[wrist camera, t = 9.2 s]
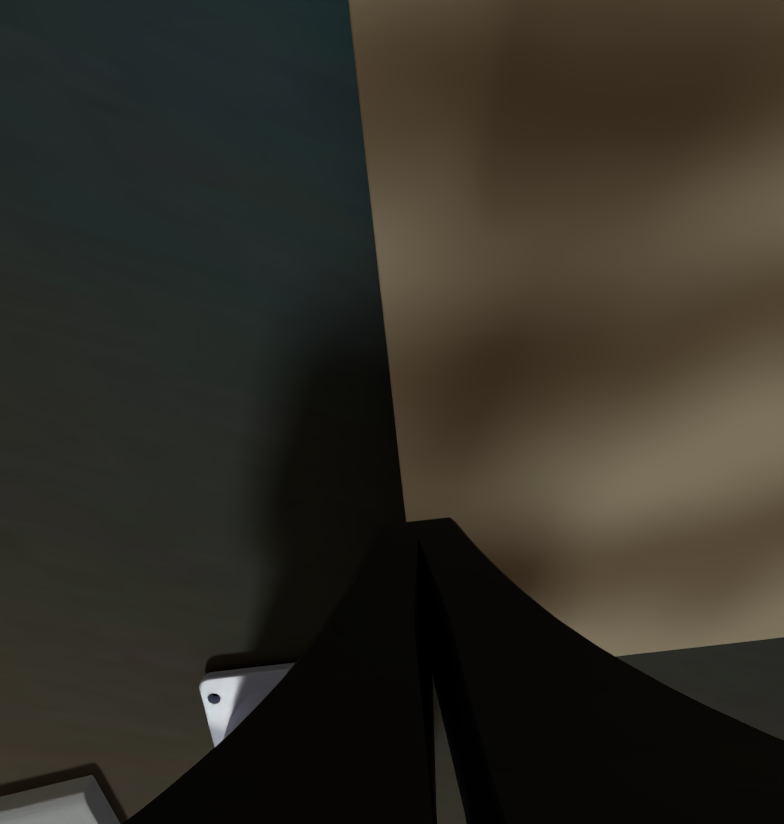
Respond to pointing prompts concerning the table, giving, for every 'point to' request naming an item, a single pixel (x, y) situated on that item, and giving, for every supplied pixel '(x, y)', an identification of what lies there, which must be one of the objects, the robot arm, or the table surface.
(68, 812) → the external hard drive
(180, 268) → the table surface
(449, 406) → the riser
